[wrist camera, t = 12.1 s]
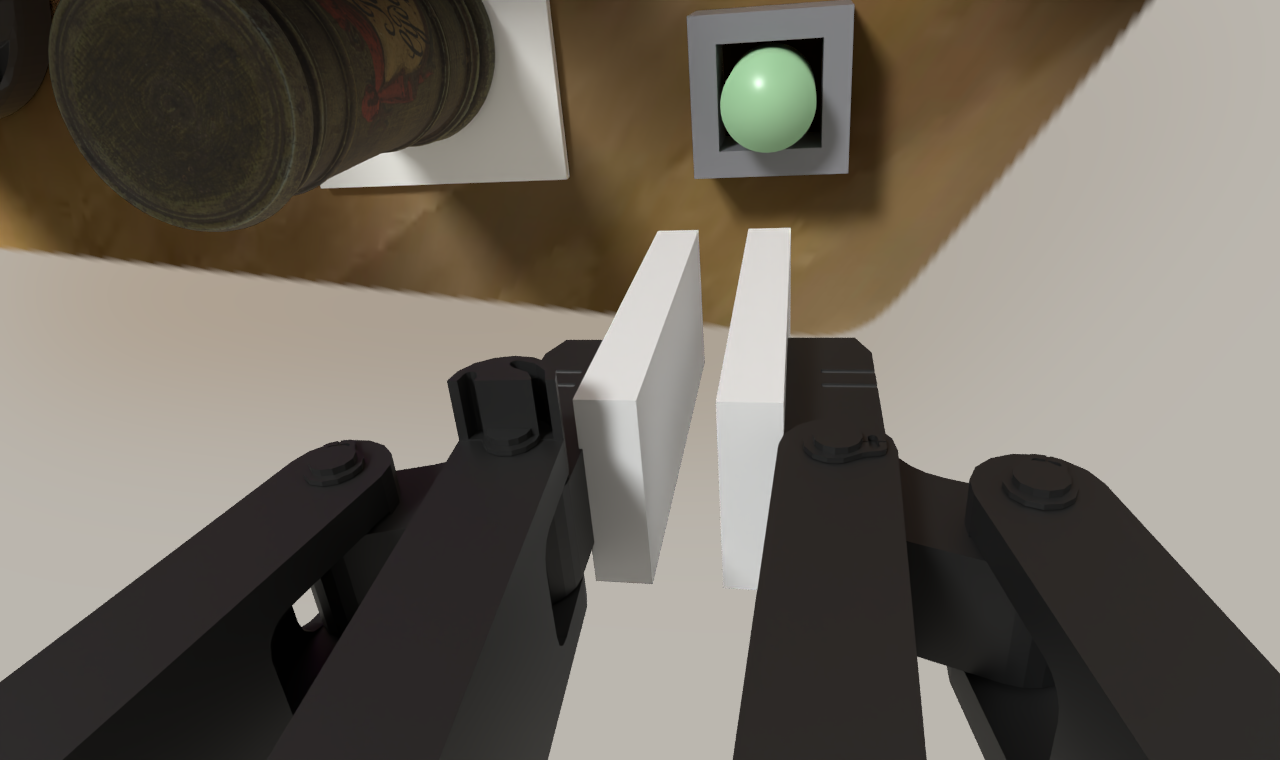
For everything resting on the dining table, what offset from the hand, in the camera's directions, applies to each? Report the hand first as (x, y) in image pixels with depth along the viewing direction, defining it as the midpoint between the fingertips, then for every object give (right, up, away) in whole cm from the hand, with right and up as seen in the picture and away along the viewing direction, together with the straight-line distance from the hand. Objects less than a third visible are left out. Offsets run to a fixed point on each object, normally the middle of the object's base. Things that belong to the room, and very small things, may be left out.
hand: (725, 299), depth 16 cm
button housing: (+5, +13, +24) cm, 27 cm away
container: (-13, +15, +26) cm, 32 cm away
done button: (+5, +13, +24) cm, 27 cm away
